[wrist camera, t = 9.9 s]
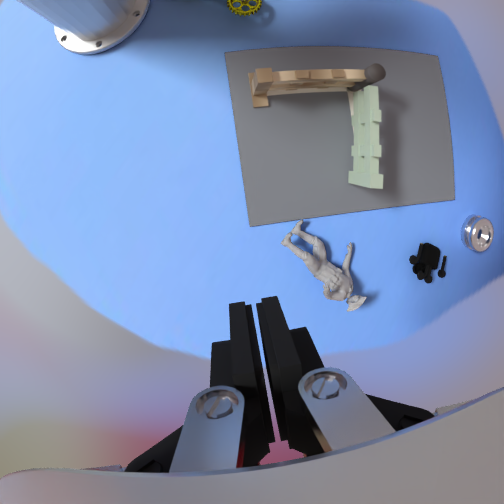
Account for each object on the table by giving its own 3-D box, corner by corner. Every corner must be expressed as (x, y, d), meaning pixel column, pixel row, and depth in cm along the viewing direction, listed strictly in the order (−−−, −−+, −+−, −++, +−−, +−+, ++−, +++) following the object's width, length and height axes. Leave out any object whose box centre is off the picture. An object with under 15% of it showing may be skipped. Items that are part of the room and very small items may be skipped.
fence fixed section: (356, 69, 31) (381, 53, 25) (361, 101, 33) (389, 91, 26) (248, 74, 31) (253, 55, 24) (253, 108, 32) (259, 95, 25)
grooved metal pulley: (474, 252, 39) (486, 223, 38) (486, 258, 37) (499, 227, 35) (455, 239, 38) (468, 208, 37) (468, 245, 36) (481, 212, 34)
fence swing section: (348, 93, 32) (370, 83, 26) (359, 95, 32) (382, 85, 26) (348, 182, 35) (370, 188, 29) (359, 183, 35) (382, 188, 29)
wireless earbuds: (451, 253, 38) (444, 289, 37) (440, 254, 40) (432, 288, 40) (418, 235, 37) (409, 273, 36) (406, 236, 39) (397, 273, 39)
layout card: (224, 53, 30) (224, 52, 30) (436, 56, 31) (438, 55, 31) (249, 226, 36) (249, 226, 36) (453, 199, 37) (455, 199, 36)
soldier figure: (312, 204, 37) (388, 269, 36) (295, 227, 41) (365, 287, 40) (279, 242, 32) (367, 317, 31) (262, 265, 36) (342, 331, 35)
